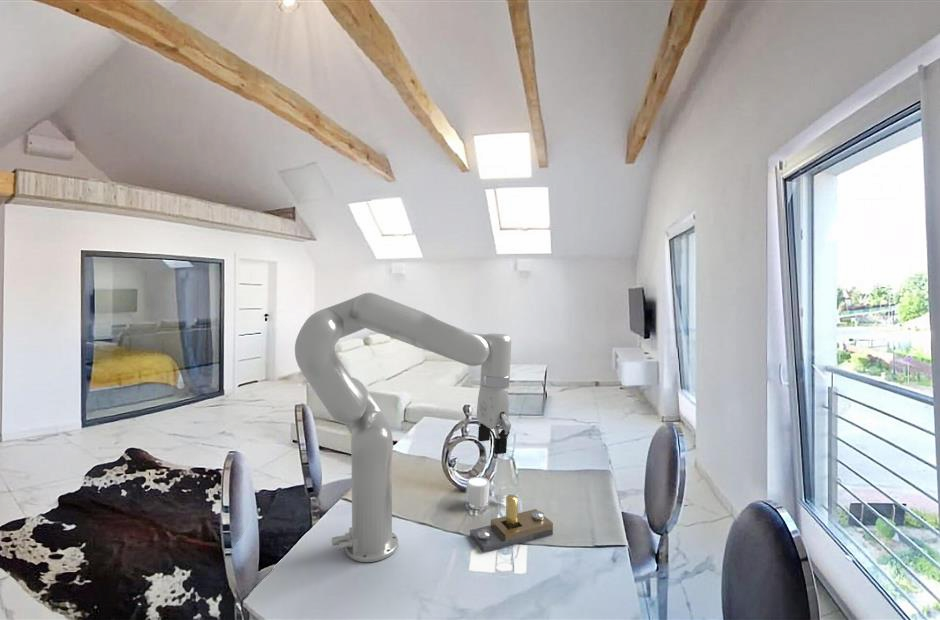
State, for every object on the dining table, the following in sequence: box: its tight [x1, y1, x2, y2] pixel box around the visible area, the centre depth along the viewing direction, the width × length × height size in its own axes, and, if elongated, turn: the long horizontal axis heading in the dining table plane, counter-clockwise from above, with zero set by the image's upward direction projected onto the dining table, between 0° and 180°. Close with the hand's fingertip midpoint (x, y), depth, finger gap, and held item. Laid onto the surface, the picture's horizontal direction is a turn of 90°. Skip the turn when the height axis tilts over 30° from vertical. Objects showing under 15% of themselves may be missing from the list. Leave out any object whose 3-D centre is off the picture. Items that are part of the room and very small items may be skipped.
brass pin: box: [505, 494, 519, 530], centre depth 114 cm, size 3×3×10 cm
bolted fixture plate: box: [469, 508, 554, 554], centre depth 115 cm, size 20×8×4 cm, turn 115°
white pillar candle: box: [466, 476, 491, 507], centre depth 131 cm, size 7×7×7 cm
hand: (491, 446), depth 116 cm, fingers open, 9 cm apart
